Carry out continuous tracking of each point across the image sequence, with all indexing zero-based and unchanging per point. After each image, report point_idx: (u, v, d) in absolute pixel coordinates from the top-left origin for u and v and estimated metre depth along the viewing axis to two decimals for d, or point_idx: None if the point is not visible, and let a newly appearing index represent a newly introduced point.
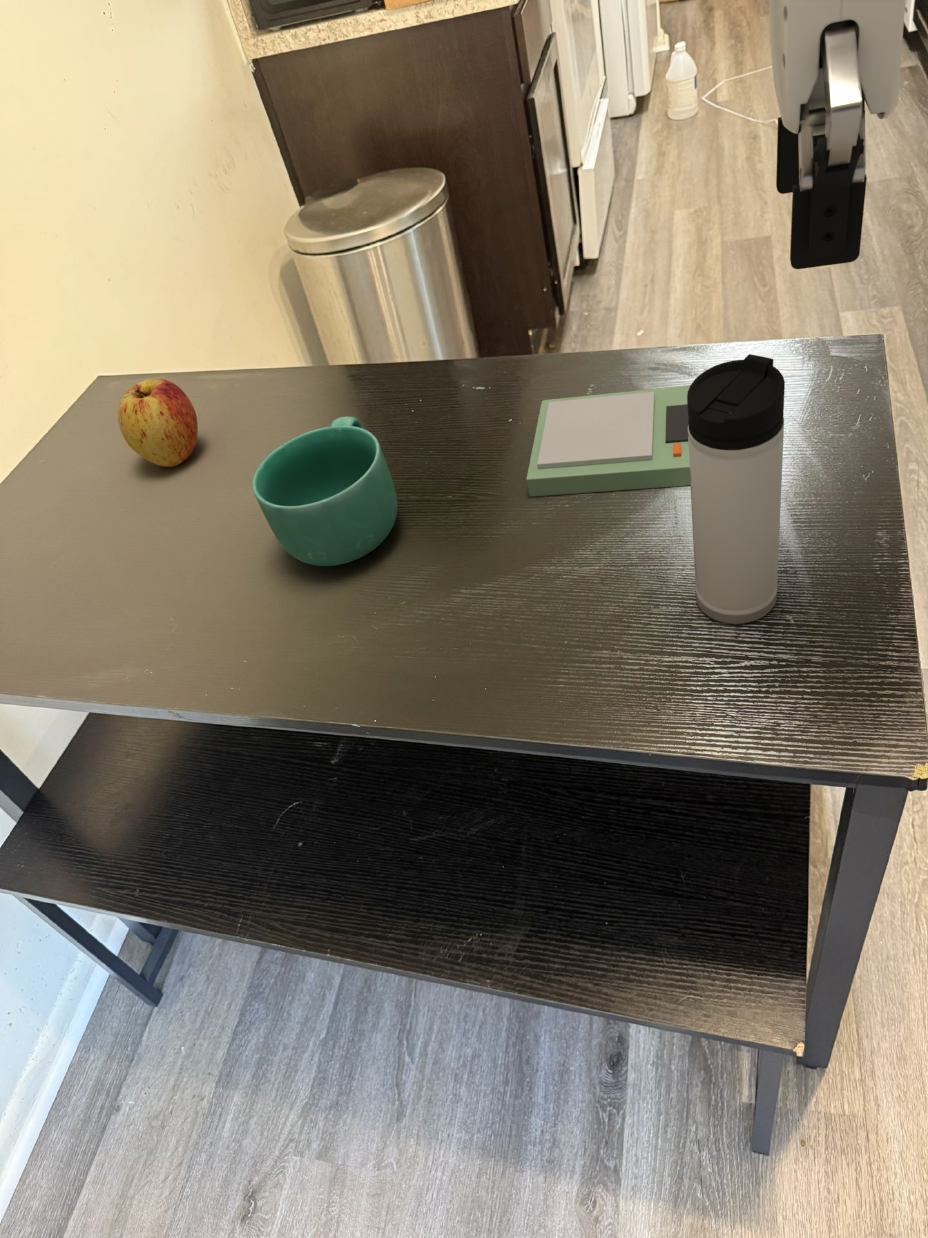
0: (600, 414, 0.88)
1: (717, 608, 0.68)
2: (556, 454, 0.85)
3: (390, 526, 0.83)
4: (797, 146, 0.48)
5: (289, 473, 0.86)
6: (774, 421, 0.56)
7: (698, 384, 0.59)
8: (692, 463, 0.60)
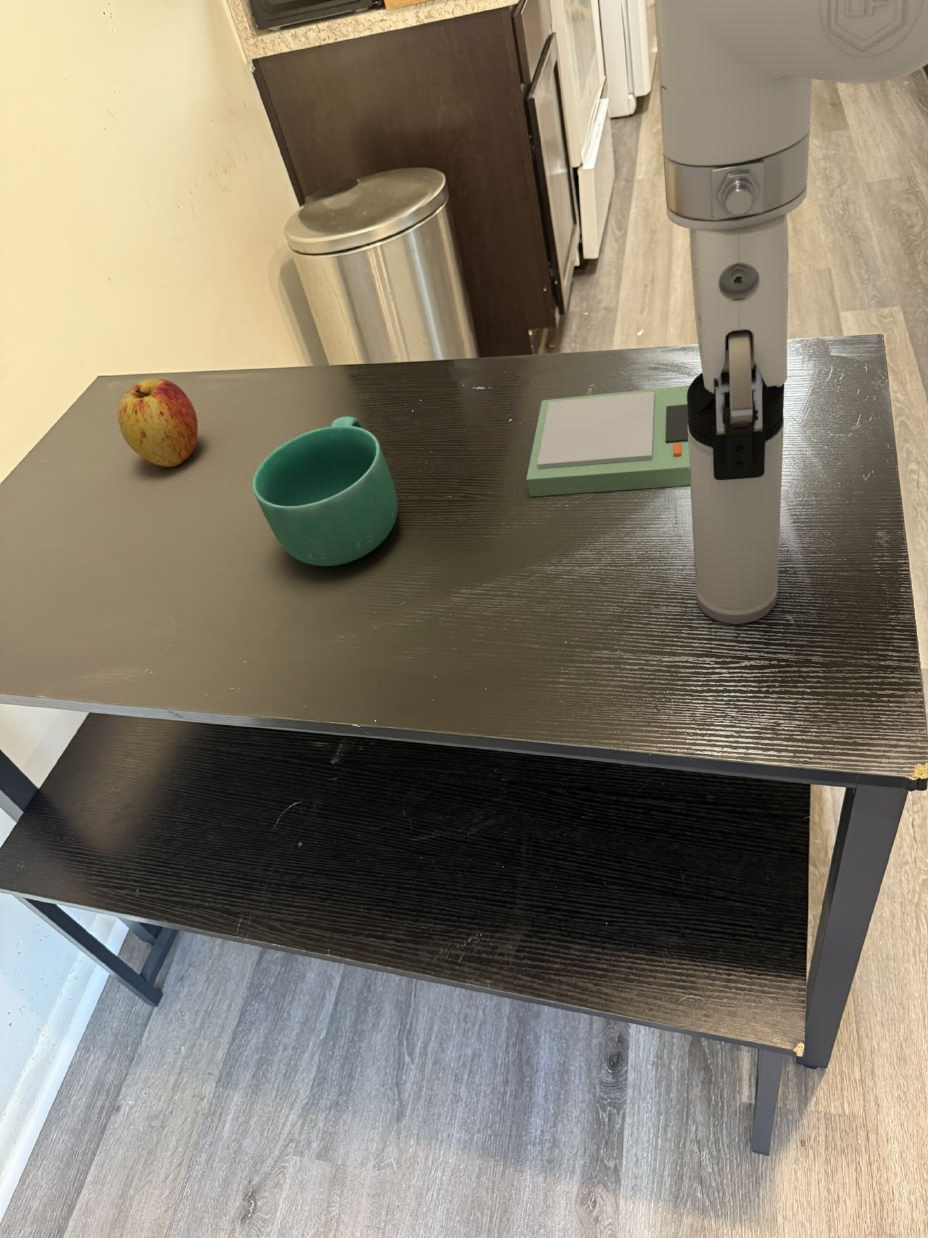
0: (600, 414, 0.88)
1: (717, 608, 0.68)
2: (556, 454, 0.85)
3: (390, 526, 0.83)
4: None
5: (289, 473, 0.86)
6: (774, 420, 0.56)
7: (698, 384, 0.59)
8: (692, 463, 0.60)
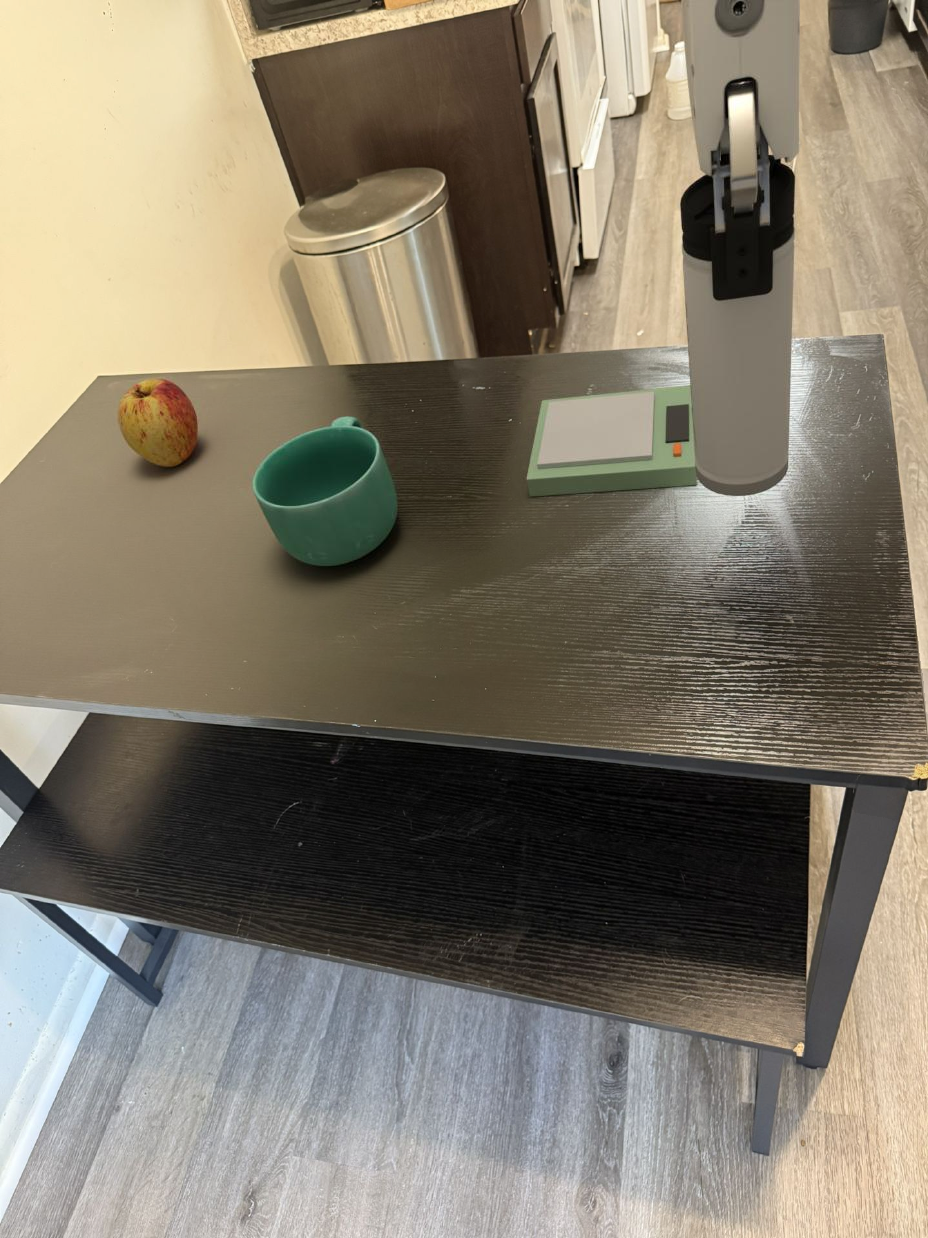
0: (600, 414, 0.88)
1: (720, 477, 0.59)
2: (556, 454, 0.85)
3: (390, 526, 0.83)
4: None
5: (289, 473, 0.86)
6: (783, 222, 0.47)
7: (694, 192, 0.50)
8: (688, 289, 0.52)
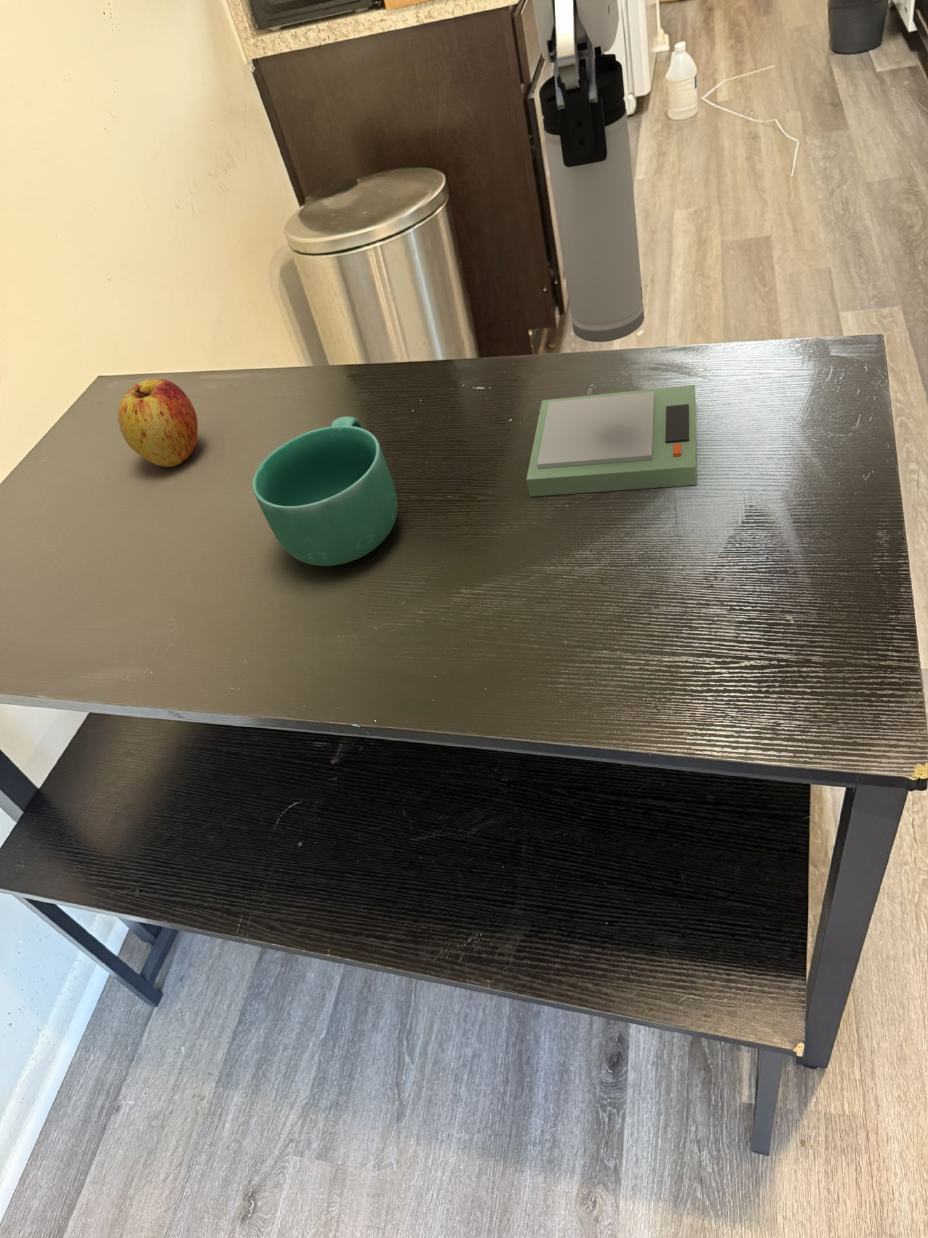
0: (600, 414, 0.88)
1: (587, 325, 0.74)
2: (556, 454, 0.85)
3: (390, 526, 0.83)
4: None
5: (289, 473, 0.86)
6: (613, 103, 0.62)
7: (551, 83, 0.65)
8: (549, 162, 0.67)
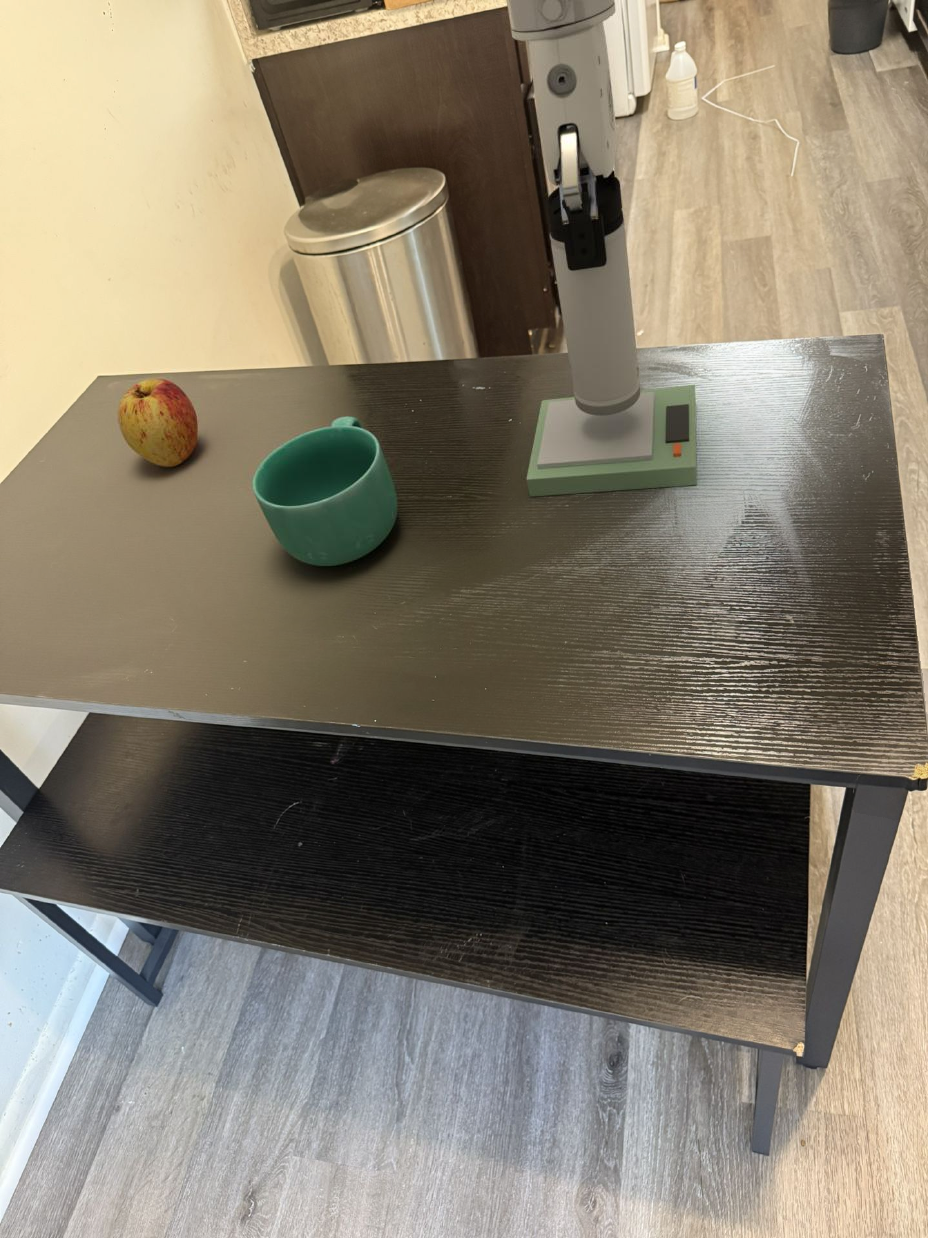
0: None
1: (588, 401, 0.82)
2: (556, 454, 0.85)
3: (390, 526, 0.83)
4: None
5: (289, 473, 0.86)
6: (612, 216, 0.70)
7: (556, 194, 0.73)
8: (555, 263, 0.74)
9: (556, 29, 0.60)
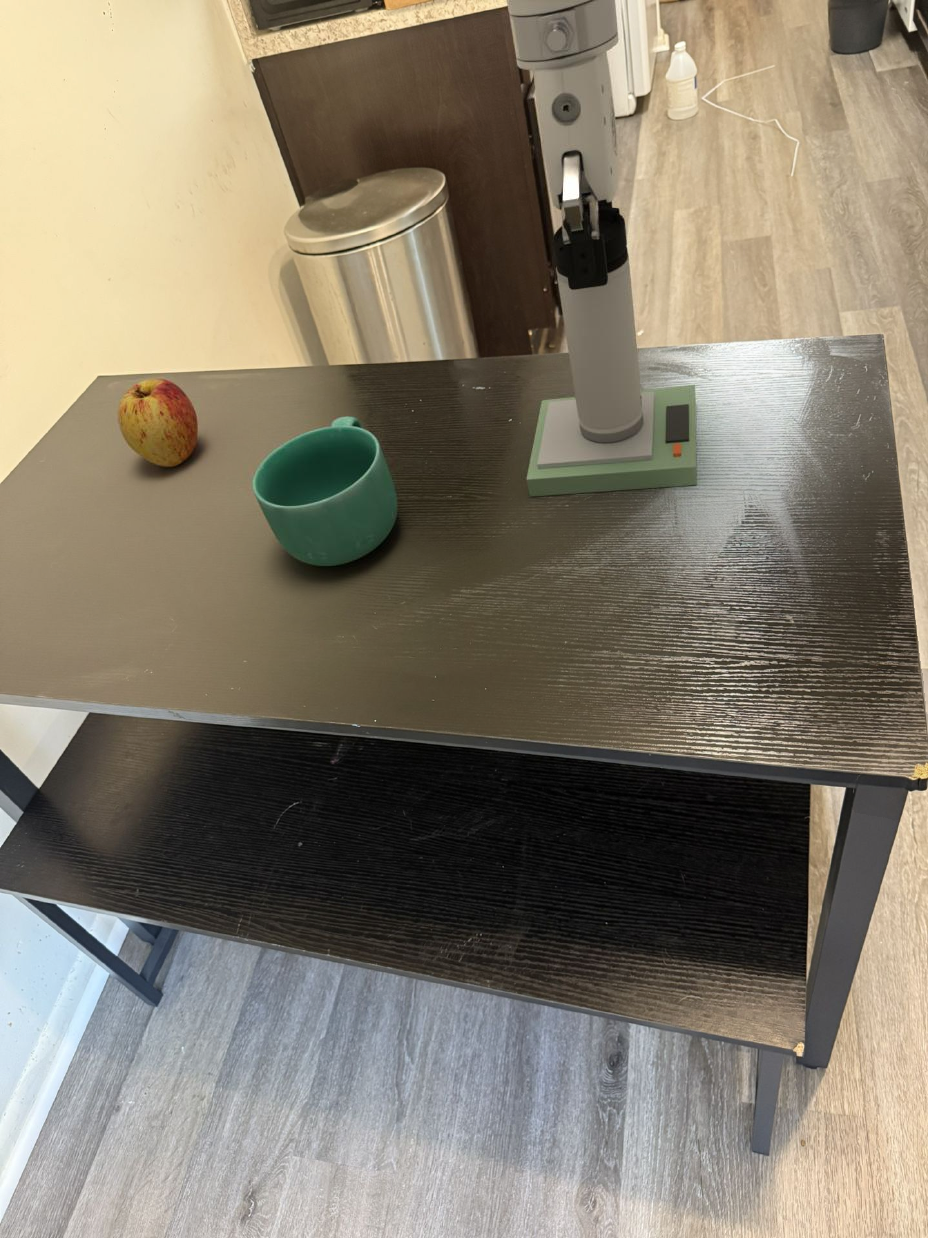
0: None
1: (593, 429, 0.84)
2: (556, 454, 0.85)
3: (390, 526, 0.83)
4: (586, 210, 0.76)
5: (289, 473, 0.86)
6: (617, 253, 0.72)
7: None
8: (561, 296, 0.76)
9: (560, 59, 0.61)
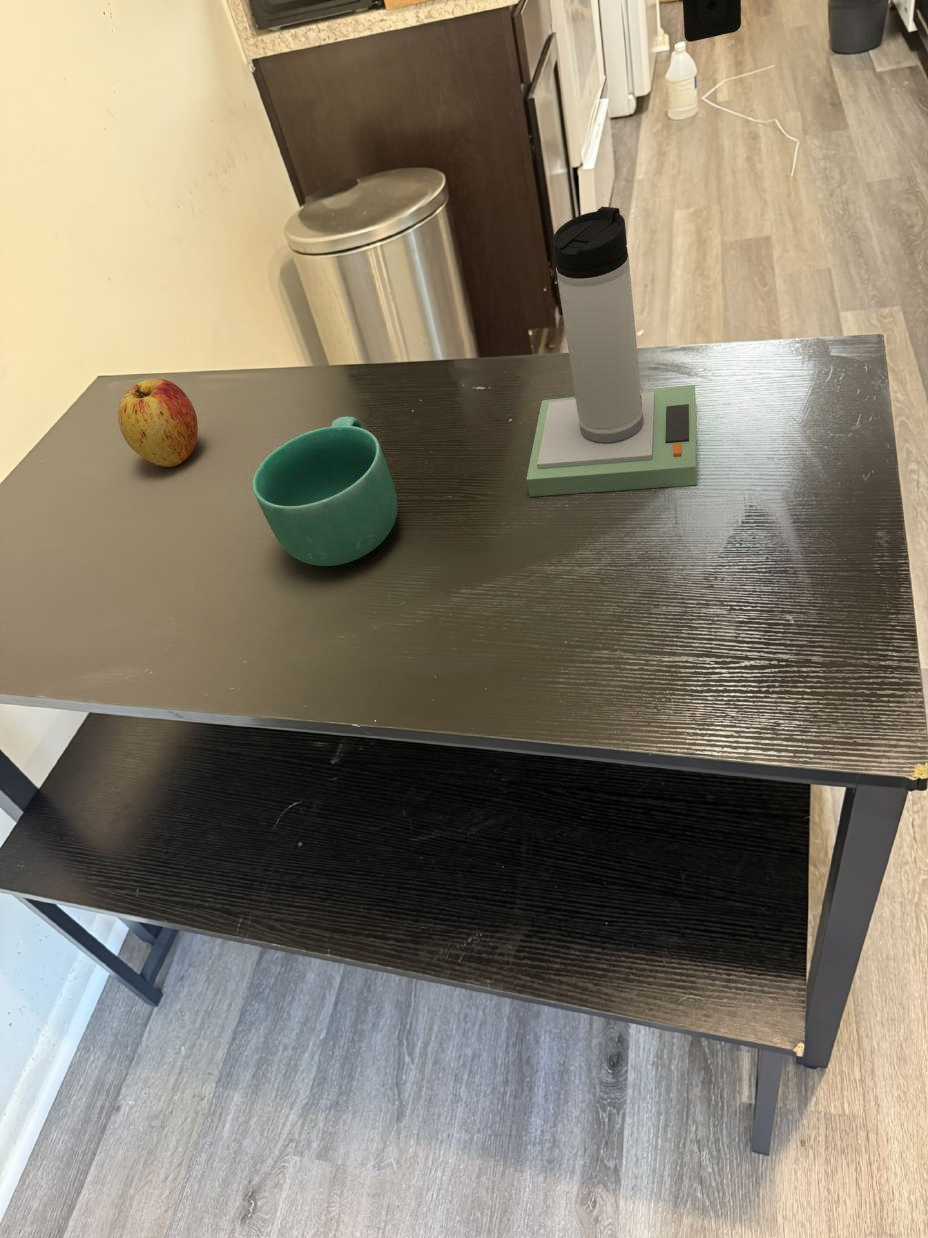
0: None
1: (593, 429, 0.84)
2: (556, 454, 0.85)
3: (390, 526, 0.83)
4: None
5: (289, 473, 0.86)
6: (617, 253, 0.72)
7: (563, 231, 0.75)
8: (561, 296, 0.76)
9: None
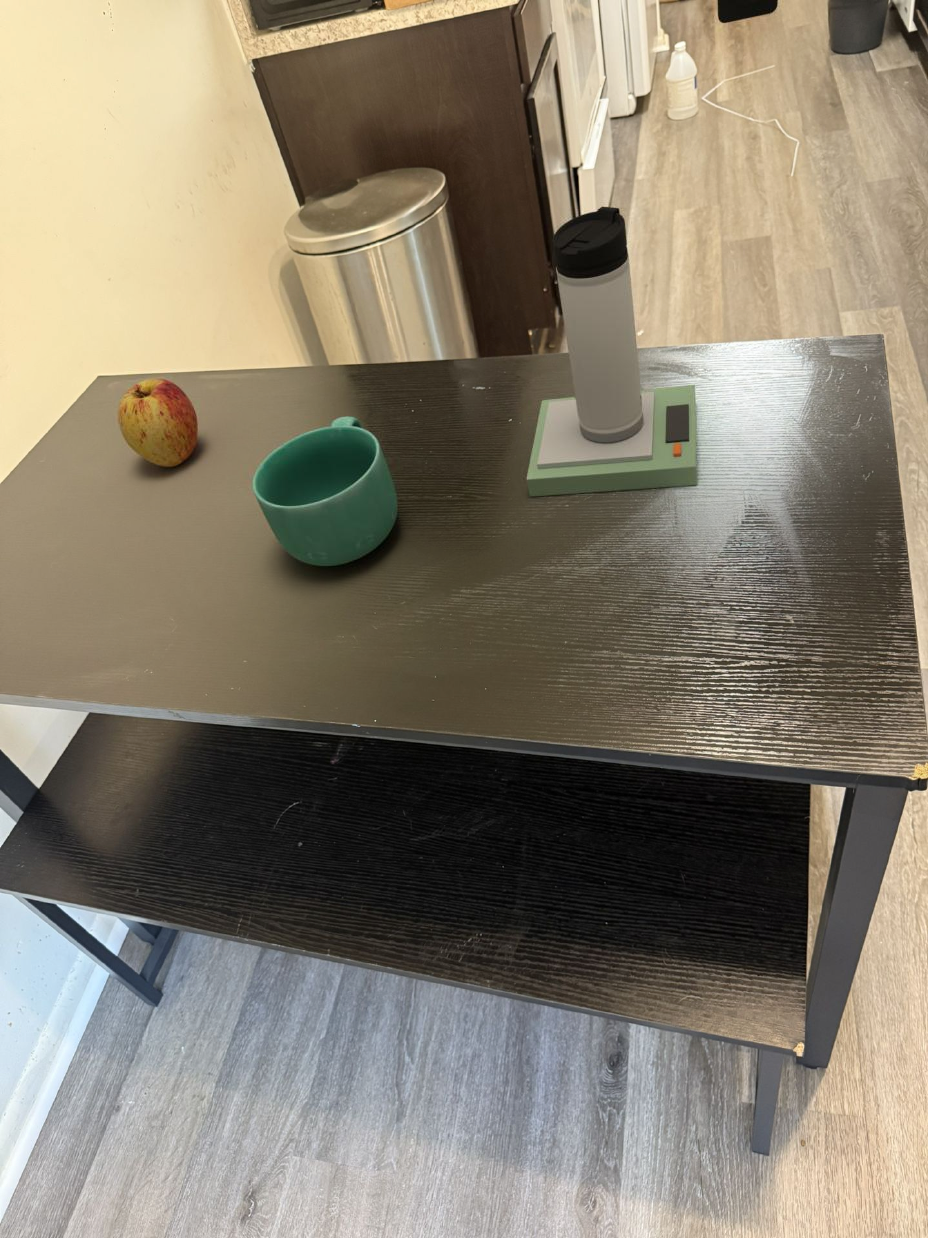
0: None
1: (593, 429, 0.84)
2: (556, 454, 0.85)
3: (390, 526, 0.83)
4: None
5: (289, 473, 0.86)
6: (617, 253, 0.72)
7: (563, 231, 0.75)
8: (561, 296, 0.76)
9: None
